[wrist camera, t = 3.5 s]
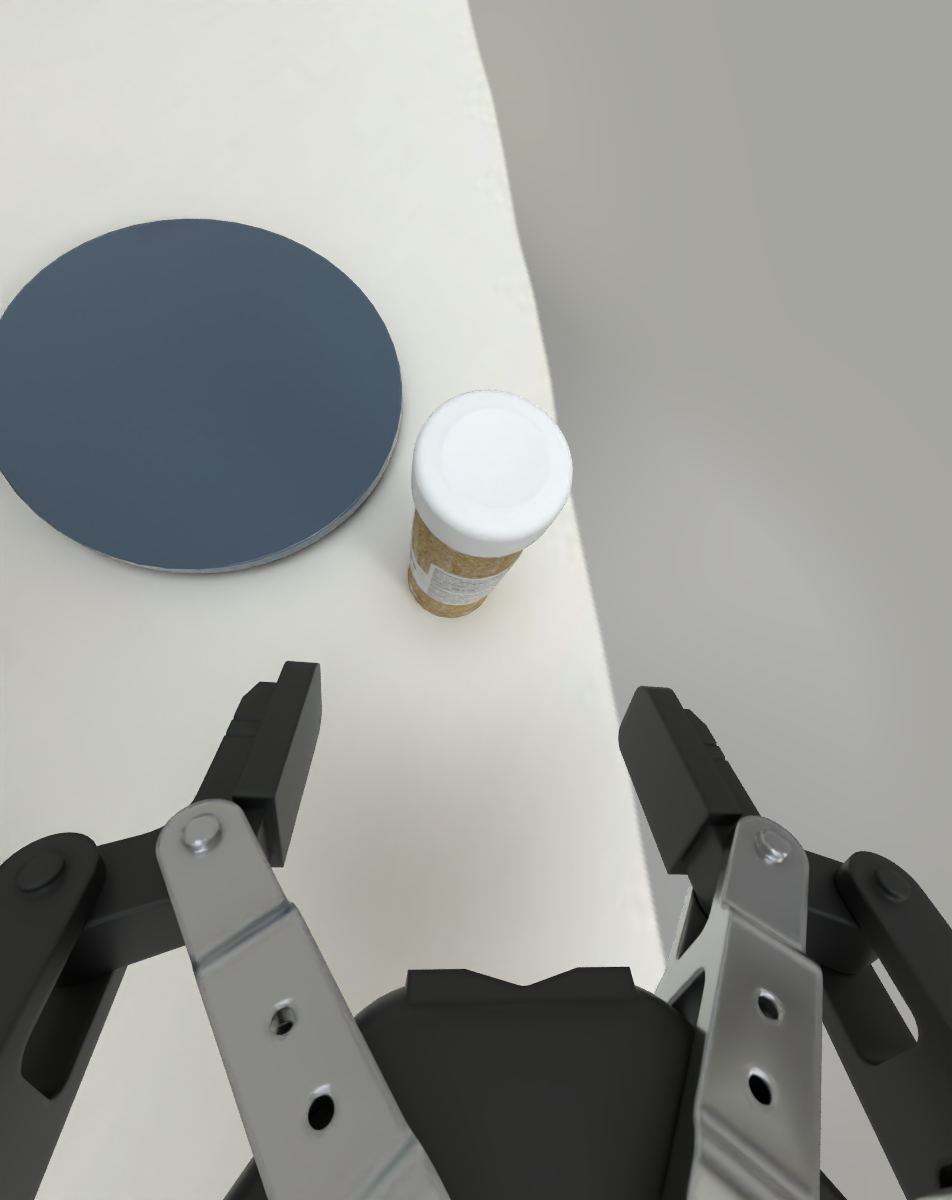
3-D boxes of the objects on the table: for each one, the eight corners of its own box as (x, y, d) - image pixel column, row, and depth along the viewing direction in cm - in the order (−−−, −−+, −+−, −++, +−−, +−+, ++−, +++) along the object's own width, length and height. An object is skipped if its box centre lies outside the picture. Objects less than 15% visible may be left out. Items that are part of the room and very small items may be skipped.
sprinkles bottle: (417, 530, 26) (432, 363, 13) (497, 548, 27) (588, 406, 14) (398, 610, 25) (395, 515, 12) (482, 628, 26) (565, 555, 13)
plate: (-94, 425, 24) (-126, 407, 22) (188, 184, 29) (177, 156, 27) (247, 654, 24) (237, 652, 22) (468, 375, 29) (472, 358, 27)
